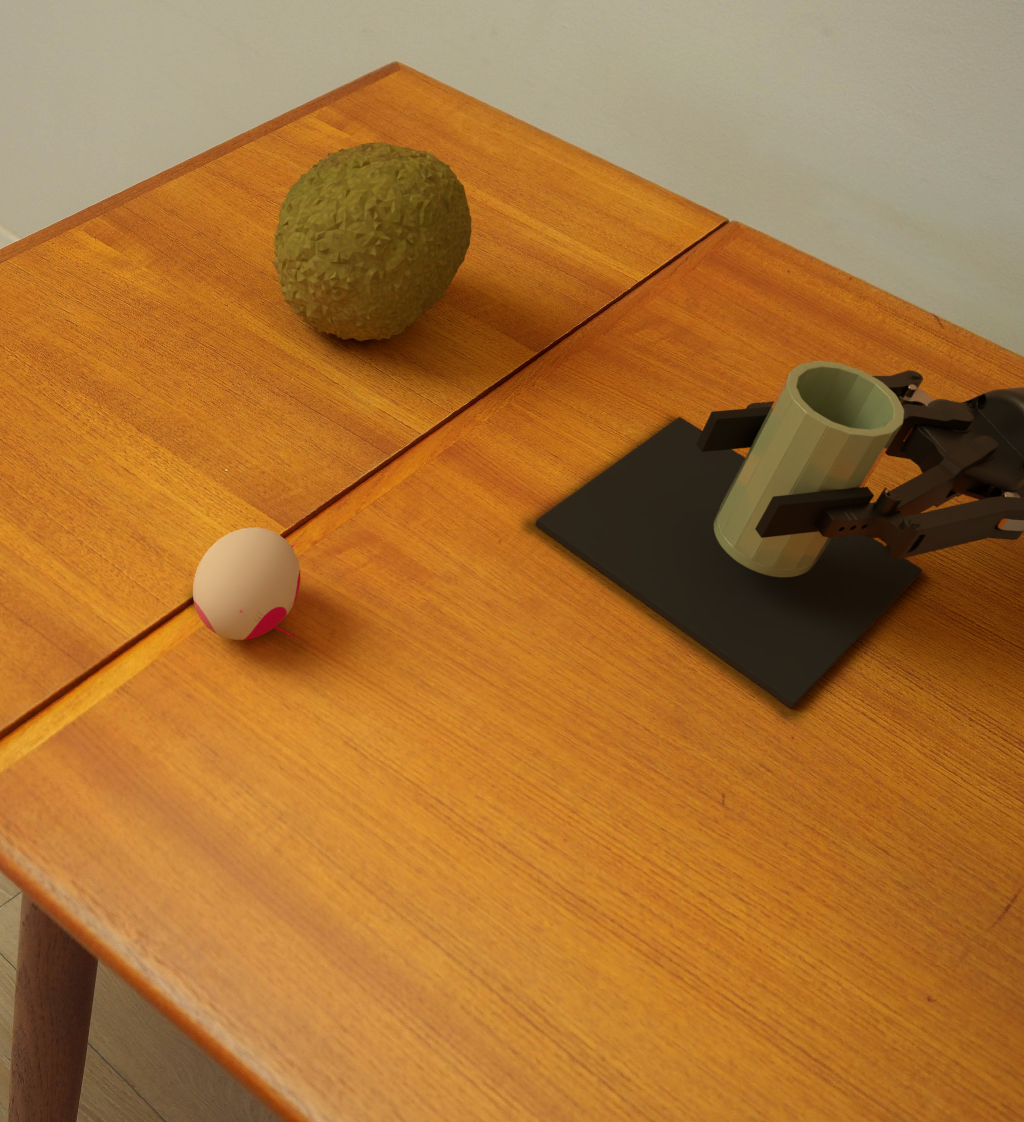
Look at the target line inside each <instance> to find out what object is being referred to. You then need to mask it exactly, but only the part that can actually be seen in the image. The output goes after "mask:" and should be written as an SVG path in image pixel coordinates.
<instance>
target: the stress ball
mask: <svg viewBox="0 0 1024 1122" xmlns="http://www.w3.org/2000/svg"><path fill="white" fill-rule="evenodd" d="M294 546H296V543H294V544H292V545H291V544H290V543H289V542H288V541H287V539H285V538H284V537H283V536H281V534H278V532H275V531H273V530H270V529H268V528H263V527H256V526H255V527H253V526H252V527H244V528H240V529H237V530H236V529H235V530H234V531H231V532H229V533H227V534H225V535H224V536H221V538H219V539H218V540H217V541H215V542H214V543H213V544H212V545H211V546H210V547H209V548H208V549H207V551H206V552H205V553H204V554H203V556H202V558H201V560H200V561H199V563H198V566H197V568H196V571H195V574H194V578H193V584H192V599H193V605H194V607H195V611H196V613H197V615H198V617H199V619H200V620H201V622H202V623H203V624H204V625H205V627H207V628H208V630H210V631H211V632H213V633H214V634H216V635H218V636H219V637H222V638H224V639H227V640H234V641H245V640H251V639H255V638H259V637H261V636H263V635H265V634H267V633H269V632H271V631H272V630H273V629H275V630H277V631H279V632H281V633H284V634H285V635H287V636H289V637H292V638H294V639H296V640H297V641H300V642H302V640H301V639H299V638H297V637H296V636H294V635H293V634H291V633H289V632H288V631H286V630H284V629H282V628H280V627H279V624H280V623H281V622H282V621H283V620H284V619H285V618H286V617H287V616H288V615H289V613H290V611H291V610H292V609H293V607H294V605H295V603H296V600H297V597H298V594H299V592H300V591H299V590H300V586H301V567H300V566H301V565H300V562H299V559H298V556H297V554H296V552H295V550H294V548H293V547H294Z"/></svg>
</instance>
